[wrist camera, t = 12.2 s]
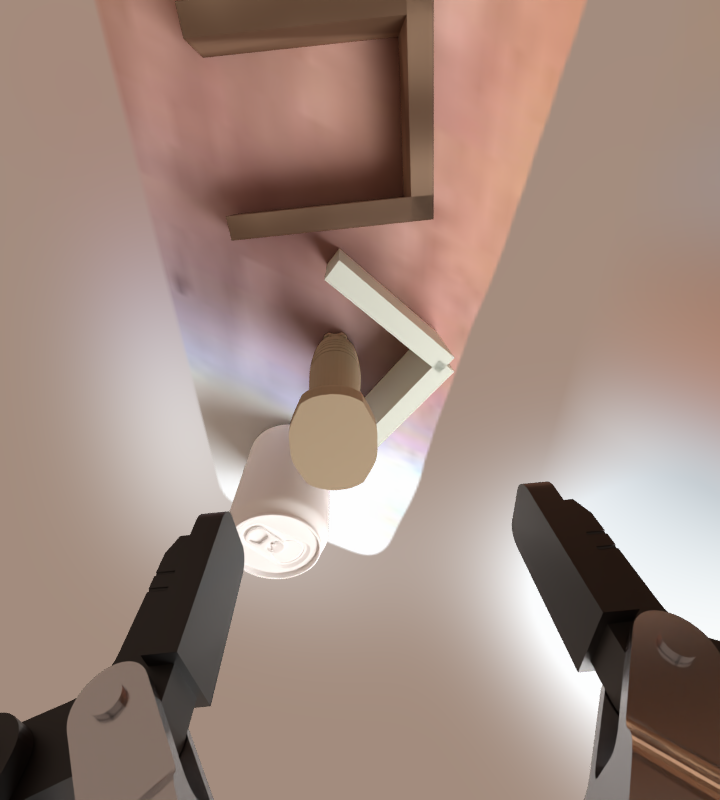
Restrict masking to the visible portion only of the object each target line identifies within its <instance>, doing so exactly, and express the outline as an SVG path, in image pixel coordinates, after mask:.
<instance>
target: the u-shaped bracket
mask: <svg viewBox="0 0 720 800" xmlns="http://www.w3.org/2000/svg"><path fill="white" fill-rule="evenodd" d="M175 5H176V9H177V13H178V17H179V21H180V26H181V30H182V34H183V38H184V39H185V40H186V41H187V42H188V43H189V44H190V45H191V46H192V47H193V48H194V49H195V50H196V51H197V52H198V53H199V54H200V55H201V56H202V57H203V58H204V57H213V56H223V55H232V54H241V53H251V52H260V51H269V50H279V49H288V48H297V47H307V46H316V45H325V44H335V43H344V42H353V41H363V40H372V39H381V38H390V37H398V44H399V74H400V105H401V135H402V165H403V196H402V197H392V198H383V199H373V200H364V201H354V202H345V203H336V204H326V205H317V206H307V207H298V208H288V209H279V210H270V211H260V212H251V213H241V214H235V215H231V216H226V219H227V223H228V227H229V231H230V236H231V240H242V239H251V238H261V237H270V236H280V235H289V234H298V233H308V232H317V231H327V230H336V229H346V228H355V227H365V226H374V225H383V224H393V223H402V222H412V221H421V220H431V219H433V198H434V0H182V1H175Z"/></svg>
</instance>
